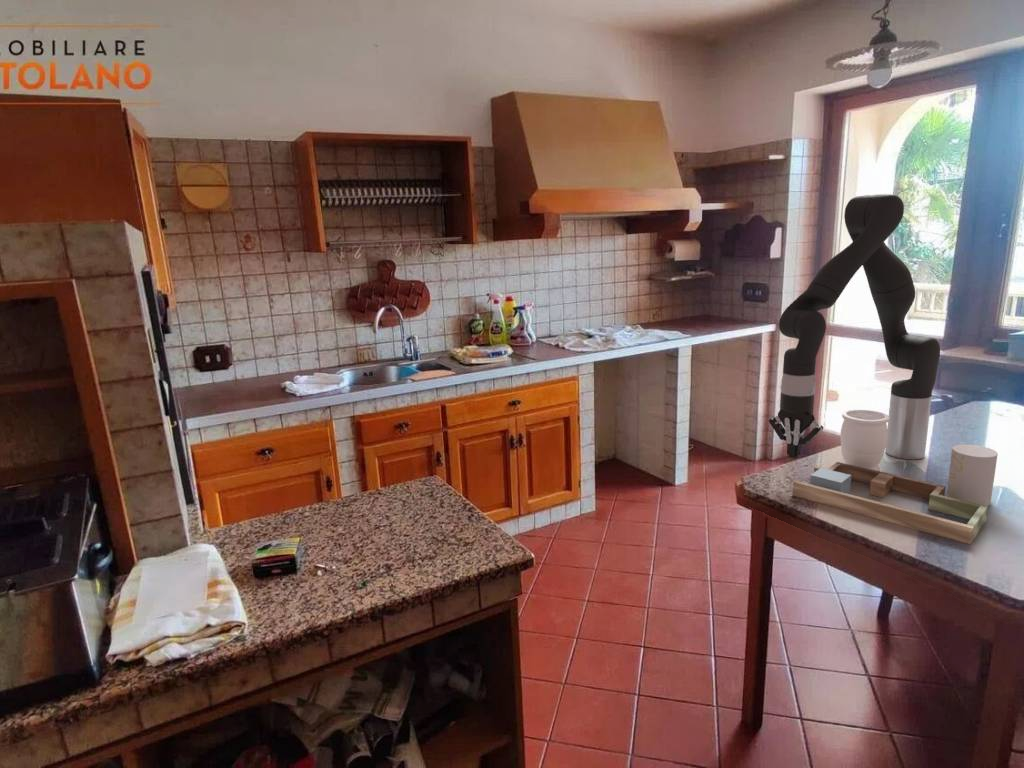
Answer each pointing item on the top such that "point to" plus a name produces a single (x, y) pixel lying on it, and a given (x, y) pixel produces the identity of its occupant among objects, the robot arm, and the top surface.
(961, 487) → the white cylinder
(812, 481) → the block
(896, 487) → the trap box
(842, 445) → the jar
